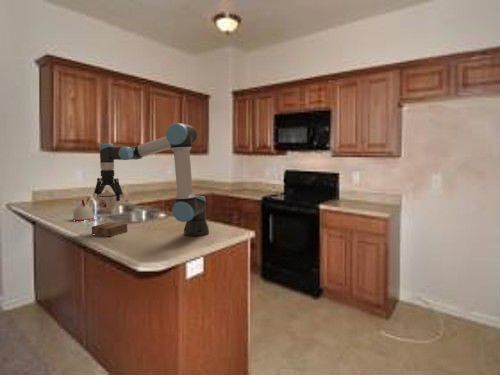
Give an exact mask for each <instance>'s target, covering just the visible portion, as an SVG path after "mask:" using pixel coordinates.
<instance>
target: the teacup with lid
mask: <svg viewBox="0 0 500 375" xmlns="http://www.w3.org/2000/svg"><path fill="white" fill-rule="evenodd" d="M99 201H100V206H99V210H100V211H113V210H116V207H115V193H114V192H111V191H110V190H109V189H104V192H103V191H102V194H99Z"/></svg>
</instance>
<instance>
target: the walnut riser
mask: <svg viewBox="0 0 500 375" xmlns="http://www.w3.org/2000/svg"><path fill="white" fill-rule="evenodd" d="M125 233H128V224H127V223H123V222H122V223H121V222H120V223H119V222H109V221H108V222H104V223H102V224H101V223H100V224H97V225H94V226H91V235H92V234H95V235H102V236H101V237H104V236H110V237H109V238H113V237H115V235H116V236H119V235H123V234H125ZM118 234H119V235H118ZM95 235H94V236H95ZM112 236H113V237H112Z"/></svg>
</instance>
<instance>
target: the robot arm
mask: <svg viewBox="0 0 500 375" xmlns="http://www.w3.org/2000/svg"><path fill="white" fill-rule="evenodd" d="M197 138H198V132H197V130H196V129H195V127H194V126H192V125H191V124H185V123H181V122H175V123H172V124H171V125H169V126H168V128H166V133H165V136H163V137H160V138H157V139H153V140H152V141H151V140H150V141H148V142H144V143H142V144H139V145H135V146H114V144H113V143H100V144H99V161H100V162H99V164H100V165H99V166H100V177H98V178H97V179H96V181H97V182H96V184H95V185H96V186H95V188H94V194H96V196H97V201H98V205H97V206H99V207H100V201H99V194H102V193H103V191H105V188H106V186H109V187H111V190H112V191H113V193H114V194H115V208H118V207H120V201H121V196H122V195H123V194H124V193H123V190H122V188H121V185H120V182H119V178H118V177H117V178H115V170H114V169H115V160H117V161H119V160H120V161H129V160H134V161H135V160H141V159H142V158H144V157H147V156H150V155H153V154H157V153H160V152H164V151H167V150H170V149H171V151H172V152H173V156H174V158H173V159H174V171H175V172H174V173H175V182H176V183H175V184H176V196H175V197H174V205H172V208H171V209H172V210H171V213H172V215H173V217H174V218H175V220H177V221H179V222H181V223H185V226H184V228H183V234H184V236H187V237H188V236H190V237H201V236H207V235H209V233H210V230H209V225H208V223H207V199H206V196H203V195H195V194H194V192H193V191H194V190H193V180H192V166H191V153H190V151H191V149H192V148H193V144H195V143H196V141H197Z"/></svg>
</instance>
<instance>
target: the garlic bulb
mask: <svg viewBox="0 0 500 375" xmlns="http://www.w3.org/2000/svg"><path fill="white" fill-rule="evenodd" d="M94 216H95V212H94V210H93V209H92V208H91V207H90V206H89V205H88V204H86V203H85V199H81V204H79V205H78V206H77V207H76V209H75V210H74V211H73V217H72V218H73V220H75V221H84V220H90V219H93V218H94Z"/></svg>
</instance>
